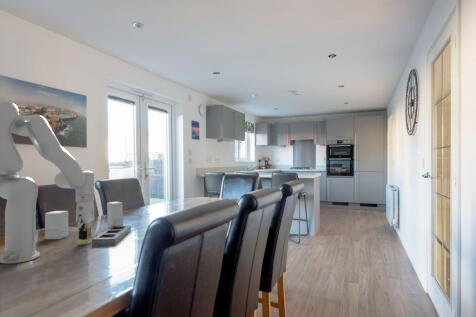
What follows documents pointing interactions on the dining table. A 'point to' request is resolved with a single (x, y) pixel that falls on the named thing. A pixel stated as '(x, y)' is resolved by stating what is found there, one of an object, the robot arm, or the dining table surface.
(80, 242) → the brass block
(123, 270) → the dining table surface
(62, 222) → the supplement box
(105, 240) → the grey compartment tray
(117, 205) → the skincare box
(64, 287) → the dining table surface
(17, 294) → the dining table surface
